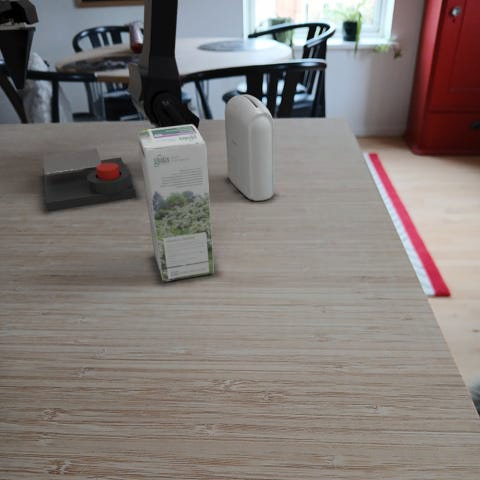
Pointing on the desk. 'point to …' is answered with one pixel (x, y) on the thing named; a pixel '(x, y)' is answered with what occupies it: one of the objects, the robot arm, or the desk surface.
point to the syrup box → (178, 200)
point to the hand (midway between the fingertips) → (5, 97)
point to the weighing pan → (71, 162)
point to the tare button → (107, 171)
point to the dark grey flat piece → (87, 188)
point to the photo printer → (250, 146)
